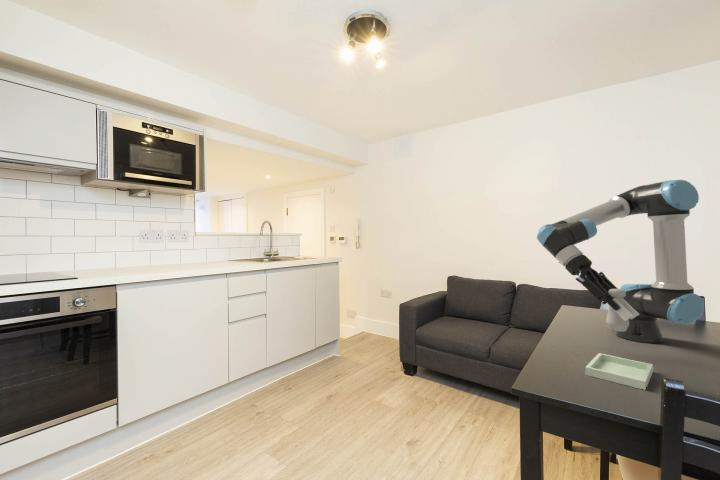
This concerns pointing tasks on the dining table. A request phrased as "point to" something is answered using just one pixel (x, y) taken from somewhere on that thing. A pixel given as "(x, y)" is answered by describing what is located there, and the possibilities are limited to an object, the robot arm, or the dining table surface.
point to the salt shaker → (612, 317)
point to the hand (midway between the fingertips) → (632, 317)
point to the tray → (620, 370)
